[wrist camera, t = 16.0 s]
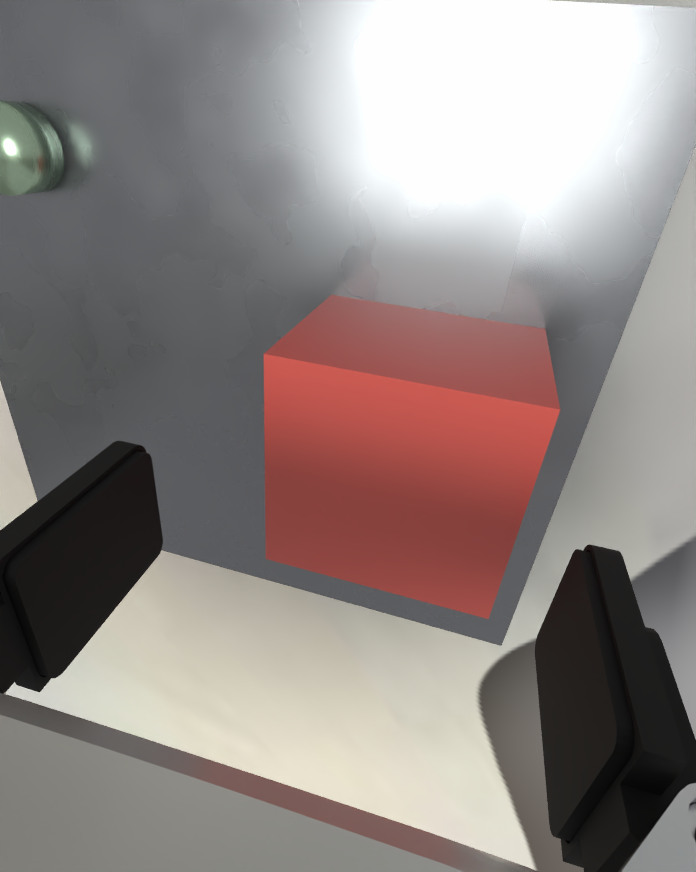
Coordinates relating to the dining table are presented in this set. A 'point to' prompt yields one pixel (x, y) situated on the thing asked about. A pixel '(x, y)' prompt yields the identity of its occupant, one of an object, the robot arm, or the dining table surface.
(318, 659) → the dining table surface
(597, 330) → the board
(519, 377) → the red block
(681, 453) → the dining table surface
